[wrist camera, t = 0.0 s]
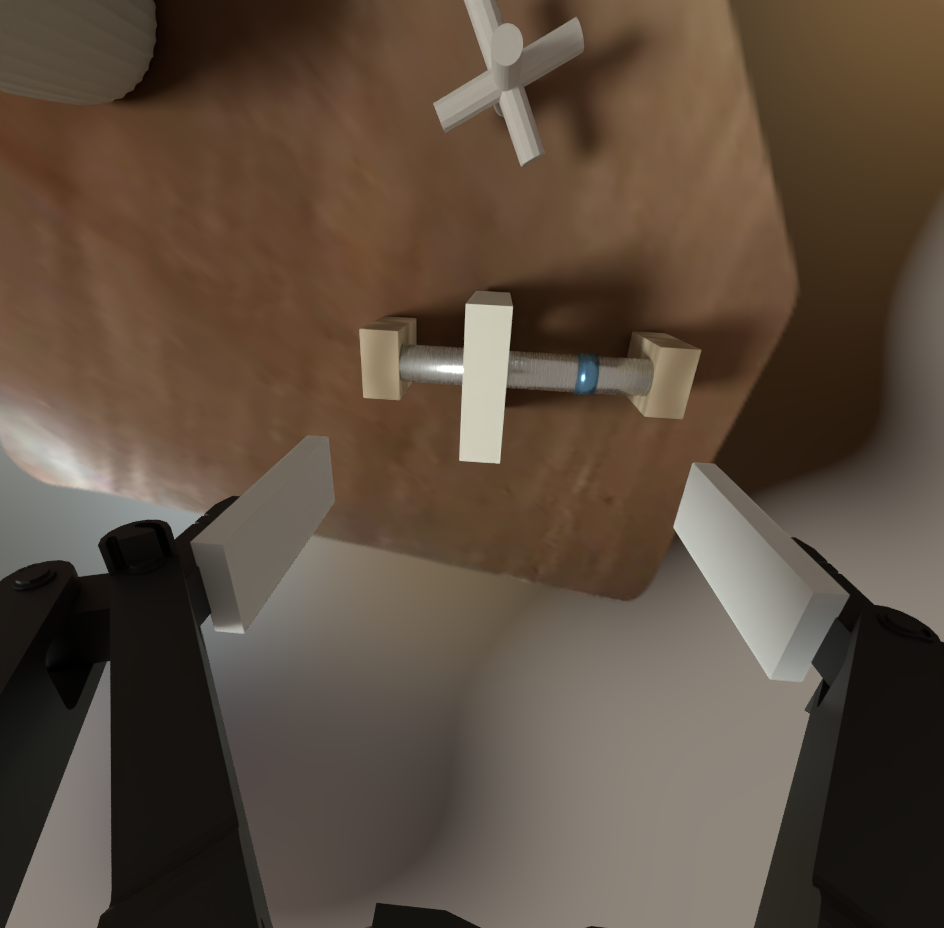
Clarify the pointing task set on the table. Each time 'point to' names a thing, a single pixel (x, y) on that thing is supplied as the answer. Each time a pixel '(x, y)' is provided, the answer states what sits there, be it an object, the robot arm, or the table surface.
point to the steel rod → (535, 371)
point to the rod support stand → (665, 351)
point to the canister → (75, 48)
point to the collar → (485, 375)
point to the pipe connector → (509, 75)
